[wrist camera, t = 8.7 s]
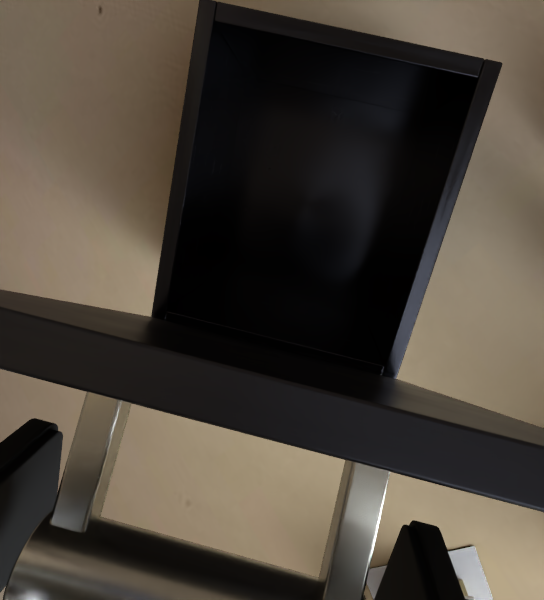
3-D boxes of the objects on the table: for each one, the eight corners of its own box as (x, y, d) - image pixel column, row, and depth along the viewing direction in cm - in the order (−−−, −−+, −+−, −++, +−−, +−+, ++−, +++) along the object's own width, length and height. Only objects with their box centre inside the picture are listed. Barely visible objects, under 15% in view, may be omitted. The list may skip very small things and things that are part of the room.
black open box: (239, 64, 28) (199, -4, 18) (438, 108, 27) (503, 62, 18) (199, 283, 32) (150, 321, 22) (371, 326, 31) (394, 383, 22)
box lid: (-235, 246, 6) (-388, 655, 5) (778, 505, 5) (714, 1000, 5) (148, 316, 22) (121, 416, 21) (398, 379, 21) (375, 483, 21)
